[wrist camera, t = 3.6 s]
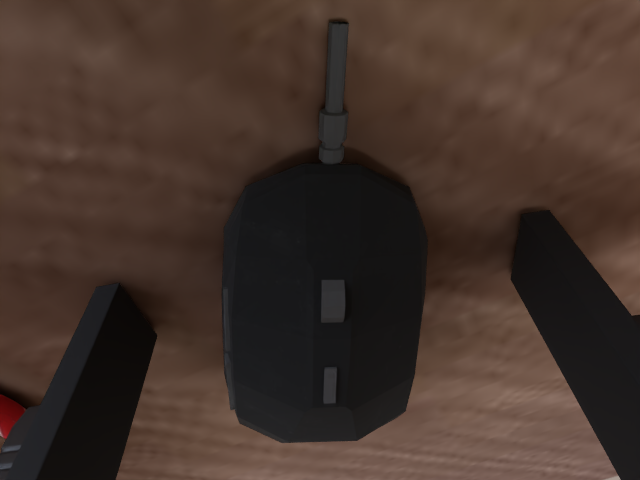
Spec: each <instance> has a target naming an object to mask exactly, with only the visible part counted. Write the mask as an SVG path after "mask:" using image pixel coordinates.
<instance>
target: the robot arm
mask: <svg viewBox="0 0 640 480" xmlns="http://www.w3.org/2000/svg"><path fill="white" fill-rule="evenodd" d="M511 281H512V283H513V284H514V286H515V288H516V290H517V292H518V294H519V295H520V297H521V299H522V301H523V303H524V304H525V306H526V308H527V310H528V312H529V314H530V315H531V317H532V319H533V321H534V323H535V324H536V326H537V328H538V330H539V332H540V334H541V335H542V337H543V339H544V341H545V343H546V345H547V346H548V348H549V350H550V352H551V354H552V355H553V357H554V359H555V361H556V363H557V365H558V366H559V368H560V370H561V372H562V374H563V375H564V377H565V379H566V381H567V383H568V385H569V386H570V388H571V390H572V392H573V394H574V395H575V397H576V399H577V401H578V403H579V405H580V406H581V408H582V410H583V412H584V414H585V415H586V417H587V419H588V421H589V423H590V425H591V426H592V428H593V430H594V432H595V434H596V435H597V437H598V439H599V441H600V443H601V445H602V446H603V448H604V450H605V452H606V454H607V455H608V457H609V459H610V461H611V463H612V465H613V466H614V468H615V470H616V472H617V474H618V475H619V477H620V479H621V480H640V315H634V316H632V315H631V314H630V313H629V312H628V310H627V309H626V308H625V306H624V305H623V304H622V303H621V301H620V300H619V299H618V297H617V296H616V295H615V294H614V292H613V291H612V290H611V289H610V287H609V286H608V285H607V283H606V282H605V281H604V280H603V278H602V277H601V276H600V274H599V273H598V272H597V271H596V269H595V268H594V267H593V265H592V264H591V263H590V262H589V260H588V259H587V258H586V257H585V255H584V254H583V253H582V251H581V250H580V249H579V248H578V246H577V245H576V244H575V242H574V241H573V240H572V239H571V237H570V236H569V235H568V233H567V232H566V231H565V230H564V228H563V227H562V226H561V225H560V223H559V222H558V221H557V219H556V218H555V217H554V216H553V214H552V213H551V212H550V210H545V211H539V212H533V213H527V214H522V216H521V222H520V228H519V234H518V240H517V245H516V251H515V257H514V263H513V268H512V274H511ZM156 339H157V334H156V333H155V331H154V330H153V329H152V327H151V326H150V324H149V323H148V322H147V320H146V319H145V318H144V316H143V315H142V313H141V312H140V311H139V309H138V308H137V306H136V305H135V304H134V302H133V301H132V300H131V298H130V297H129V295H128V294H127V293H126V291H125V290H124V289H123V287H122V286H121V284H120V283H117V284H111V285H105V286H99V287H96V289H95V291H94V293H93V295H92V297H91V299H90V301H89V303H88V305H87V308H86V310H85V312H84V314H83V316H82V318H81V320H80V322H79V324H78V327H77V329H76V331H75V333H74V335H73V337H72V339H71V341H70V343H69V345H68V348H67V350H66V352H65V354H64V356H63V358H62V360H61V362H60V364H59V367H58V369H57V371H56V373H55V375H54V377H53V379H52V381H51V383H50V386H49V388H48V390H47V392H46V394H45V396H44V398H43V400H42V402H41V404H40V405H38V406H32V407H29V408H28V409H27V410H26V411H25V412H24V414H23V415H22V416H21V417H20V418H19V419H18V421H17V422H16V423H15V424H14V425H13V427H12V428H11V430H10V432H9V434H8V436H7V438H6V440H5V442H4V444H3V446H2V448H1V453H0V480H116V477H117V473H118V470H119V466H120V463H121V460H122V456H123V453H124V449H125V446H126V442H127V439H128V435H129V432H130V429H131V425H132V422H133V418H134V415H135V411H136V408H137V404H138V401H139V398H140V394H141V391H142V387H143V384H144V380H145V377H146V373H147V370H148V366H149V363H150V360H151V356H152V353H153V349H154V346H155V342H156Z"/></svg>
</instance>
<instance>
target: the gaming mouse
mask: <svg viewBox="0 0 640 480" xmlns="http://www.w3.org/2000/svg"><path fill="white" fill-rule="evenodd" d="M348 27H349V23H346V22H330V23H329V36H328V58H327V81H326V103H325V108H323V109H322V110H321V111H319V137H318V138H319V139H320V140H321V141H323V142H322V144H321V145H320V146H319V159H320V160H322V163H303V164H300V165H298V166H295V167H293V168H290V169H288V170H285V171H283V172H280V173H278V174H275V175H273V176H270V177H268V178H265V179H263V180H260V181H258V182H255V183H253V184H250V185H248V186H246V187H245V189H244V191H243V193H242V195H241V196H240V198H239V200H238V202H237V204H236V206H235V208H234V210H233V212H232V213H231V215H230V217H229V219H228V221H227V223H226V225H225V227H224V253H223V275H222V322H223V351H224V375H225V379H226V383H227V387H228V392H229V401H230V409H231V410H233V409H235V412H236V415H237V418H238V420H239V423H240V424H242V425H244V426H246V427H249V428H251V429H253V430H255V431H257V432H259V433H262V434H264V435H266V436H268V437H270V438H272V439H275V440H277V441H279V442H281V443H294V442H329V441H358V440H359V439H361V438H363V437H364V436H366V435H367V434H369V433H371V432H372V431H374V430H376V429H377V428H379V427H381V426H383V425H385V424H386V423H388V422H390V421H392V420H394V419H395V418H397V417H398V416H400V415H401V414H402V413H404V412H405V411H406V407H407V403H408V399H409V395H410V391H411V387H412V383H413V379H414V375H415V367H416V359H417V352H418V344H419V336H420V328H421V321H422V313H423V305H424V297H425V285H426V266H427V247H428V239H427V235H426V231H425V227H424V225H423V222H422V219H421V217H420V214H419V211H418V209H417V206H416V204H415V201H414V198H413V196H412V193H411V190H410V188H409V187H408V186H406V185H404V184H401V183H399V182H397V181H395V180H393V179H390V178H388V177H386V176H384V175H381V174H379V173H377V172H375V171H373V170H370V169H368V168H366V167H364V166H361V165H359V164H340V162H341V161H342V160H343V158H344V146H343V145H342V142H344V141H345V140H346V135H347V122H348V112H347V111H346V110H344V109H343V100H344V85H345V71H346V56H347V42H348Z"/></svg>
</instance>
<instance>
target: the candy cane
mask: <svg viewBox="0 0 640 480" xmlns="http://www.w3.org/2000/svg"><path fill="white" fill-rule="evenodd" d="M25 411H26V409H25V408H24V407H23V406H21V405H20V404H18V403H17V402H15V401H13V400H12V399H10V398H8V397H6V396H4V395H1V394H0V436H2V437H3V438H5V439H6V438H7V436H8V434H9V432H10V430H11V428H12V427H13V425H14V424H15V423H16V422H17V421H18V419H19V418H20V417H21V416H22V415H23V414H24V412H25Z"/></svg>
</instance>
